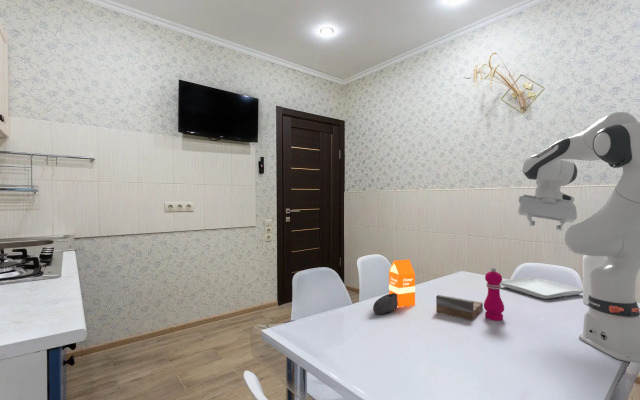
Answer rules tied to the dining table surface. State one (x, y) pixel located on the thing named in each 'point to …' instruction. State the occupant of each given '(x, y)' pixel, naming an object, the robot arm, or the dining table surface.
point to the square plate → (541, 287)
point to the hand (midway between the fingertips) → (545, 227)
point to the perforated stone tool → (386, 304)
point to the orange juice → (402, 282)
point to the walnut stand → (458, 307)
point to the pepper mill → (493, 296)
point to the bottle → (588, 267)
